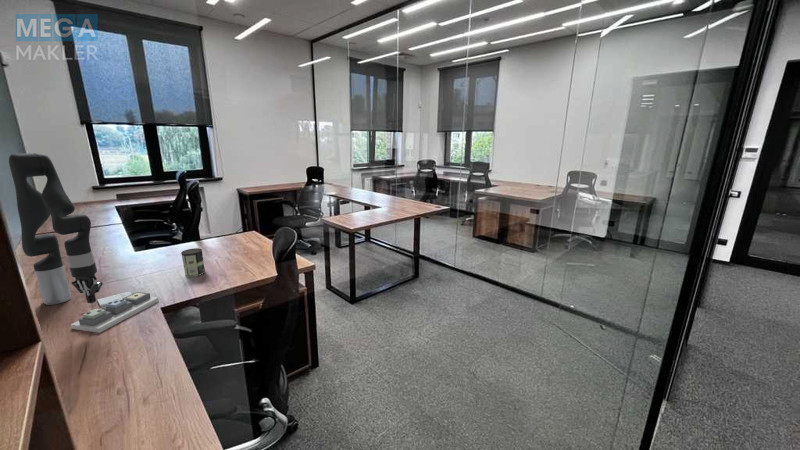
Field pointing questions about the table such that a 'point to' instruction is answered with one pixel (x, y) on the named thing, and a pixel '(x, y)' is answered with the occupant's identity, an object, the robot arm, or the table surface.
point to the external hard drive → (112, 298)
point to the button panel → (115, 314)
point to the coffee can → (193, 262)
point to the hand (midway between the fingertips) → (92, 302)
